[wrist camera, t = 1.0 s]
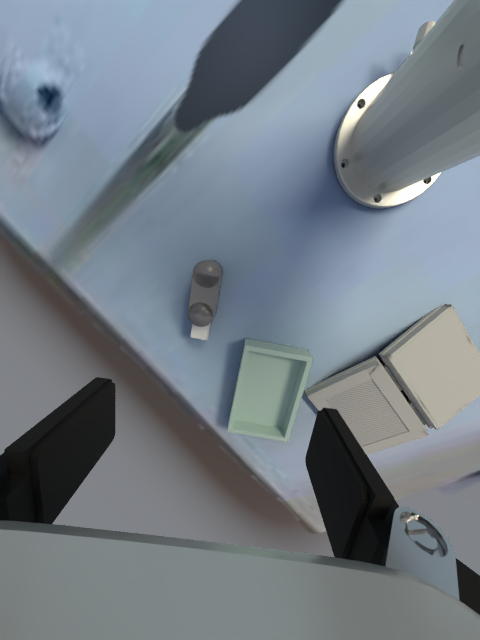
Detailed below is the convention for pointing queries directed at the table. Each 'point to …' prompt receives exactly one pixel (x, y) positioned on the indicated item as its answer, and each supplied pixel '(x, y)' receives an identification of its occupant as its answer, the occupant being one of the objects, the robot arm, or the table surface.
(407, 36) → the table surface
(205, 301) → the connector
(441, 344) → the gadget
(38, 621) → the robot arm
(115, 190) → the table surface
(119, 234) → the table surface
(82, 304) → the table surface
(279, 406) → the tray
